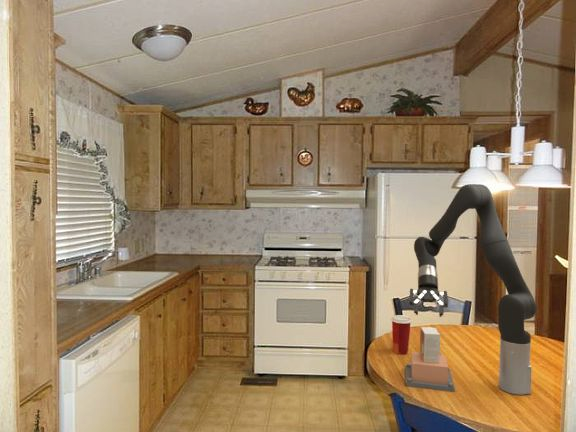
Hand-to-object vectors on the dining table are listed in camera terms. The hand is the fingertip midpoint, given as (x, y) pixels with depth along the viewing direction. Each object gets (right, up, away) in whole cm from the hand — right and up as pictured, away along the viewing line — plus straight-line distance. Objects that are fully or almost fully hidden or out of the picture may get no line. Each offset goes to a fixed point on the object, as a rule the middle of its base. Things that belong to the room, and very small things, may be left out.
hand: (428, 314), depth 164 cm
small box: (-2, -15, -6) cm, 16 cm away
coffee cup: (-5, -21, +21) cm, 30 cm away
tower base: (-2, -22, -6) cm, 23 cm away
